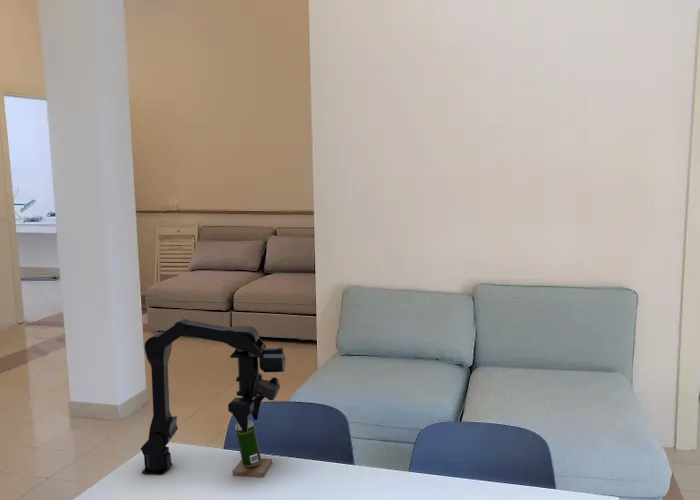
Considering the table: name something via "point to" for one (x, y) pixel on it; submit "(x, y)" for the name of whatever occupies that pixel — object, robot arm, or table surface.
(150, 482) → the table surface
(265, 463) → the brown square coaster
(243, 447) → the beer can
